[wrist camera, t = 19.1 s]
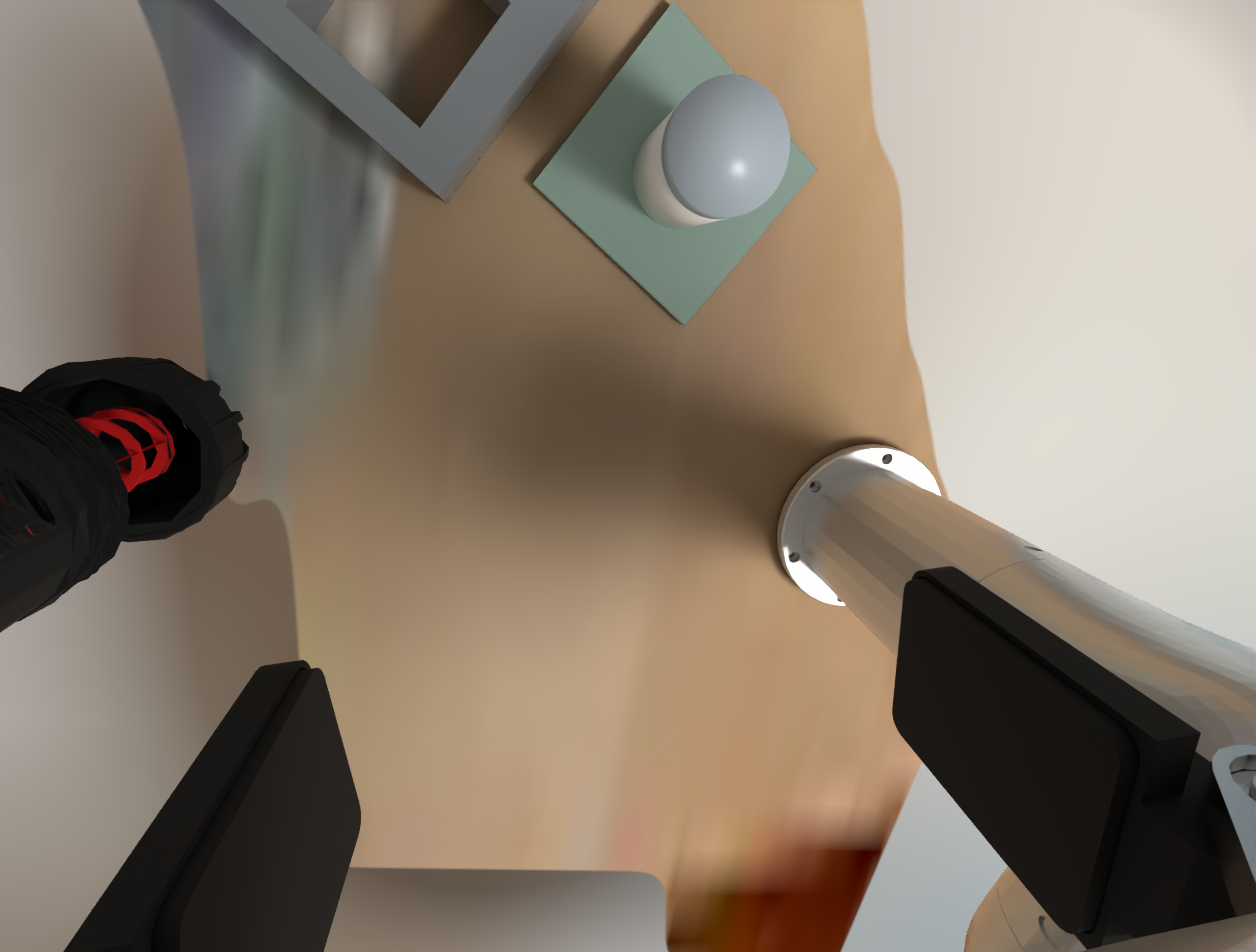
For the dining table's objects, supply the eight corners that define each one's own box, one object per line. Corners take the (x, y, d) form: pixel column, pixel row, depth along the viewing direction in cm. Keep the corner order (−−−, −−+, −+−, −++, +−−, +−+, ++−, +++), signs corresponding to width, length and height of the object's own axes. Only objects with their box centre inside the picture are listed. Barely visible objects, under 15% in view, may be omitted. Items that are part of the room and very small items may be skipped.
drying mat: (812, 170, 36) (817, 169, 36) (682, 324, 38) (684, 325, 38) (670, 5, 33) (673, 1, 32) (532, 184, 34) (533, 183, 34)
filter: (153, 519, 37) (-1067, 1309, 9) (56, 379, 34) (-2368, 907, 5) (364, 442, 37) (-132, 946, 9) (289, 297, 34) (-816, 390, 6)
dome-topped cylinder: (725, 119, 34) (791, 71, 26) (727, 224, 36) (789, 212, 28) (628, 124, 33) (664, 77, 25) (636, 232, 35) (671, 221, 27)
